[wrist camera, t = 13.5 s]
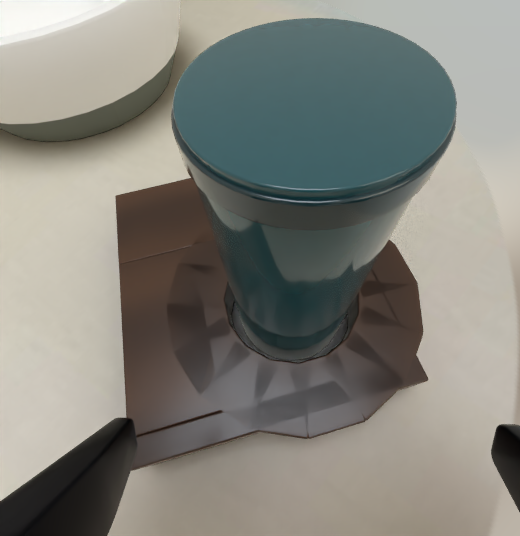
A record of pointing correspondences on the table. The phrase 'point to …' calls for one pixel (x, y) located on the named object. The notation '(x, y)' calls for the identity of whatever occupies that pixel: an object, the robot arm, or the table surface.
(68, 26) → the bowl
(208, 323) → the display base
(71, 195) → the table surface
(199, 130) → the lidded canister
